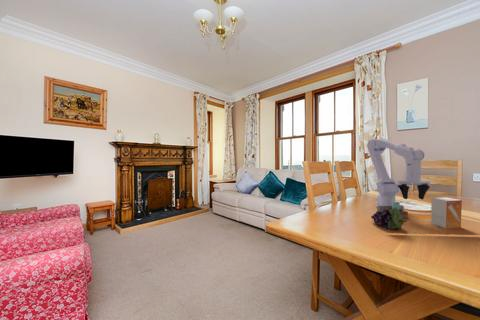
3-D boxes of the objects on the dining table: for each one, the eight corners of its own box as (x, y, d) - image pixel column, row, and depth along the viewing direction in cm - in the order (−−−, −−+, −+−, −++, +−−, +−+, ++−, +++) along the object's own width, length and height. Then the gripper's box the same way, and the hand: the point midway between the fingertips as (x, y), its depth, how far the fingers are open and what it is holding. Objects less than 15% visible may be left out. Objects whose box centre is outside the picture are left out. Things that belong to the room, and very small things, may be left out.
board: (376, 213, 112) (377, 204, 112) (401, 214, 111) (401, 205, 111) (400, 225, 94) (400, 214, 94) (429, 225, 93) (430, 215, 93)
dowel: (390, 212, 108) (390, 201, 108) (396, 212, 108) (396, 201, 108) (394, 214, 105) (394, 202, 105) (401, 214, 105) (401, 202, 105)
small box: (446, 230, 87) (446, 200, 87) (430, 225, 94) (430, 197, 93) (461, 229, 89) (462, 199, 88) (445, 224, 95) (445, 196, 94)
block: (384, 213, 110) (384, 207, 110) (397, 213, 110) (398, 208, 109) (393, 217, 103) (393, 211, 103) (407, 217, 103) (407, 211, 102)
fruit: (380, 229, 97) (417, 232, 84) (365, 229, 93) (402, 232, 80) (377, 208, 100) (412, 207, 87) (363, 206, 96) (397, 205, 82)
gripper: (403, 173, 101) (403, 200, 101) (435, 173, 99) (435, 200, 100) (394, 172, 108) (394, 197, 108) (423, 172, 106) (423, 197, 107)
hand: (413, 198), depth 104 cm, fingers open, 7 cm apart
